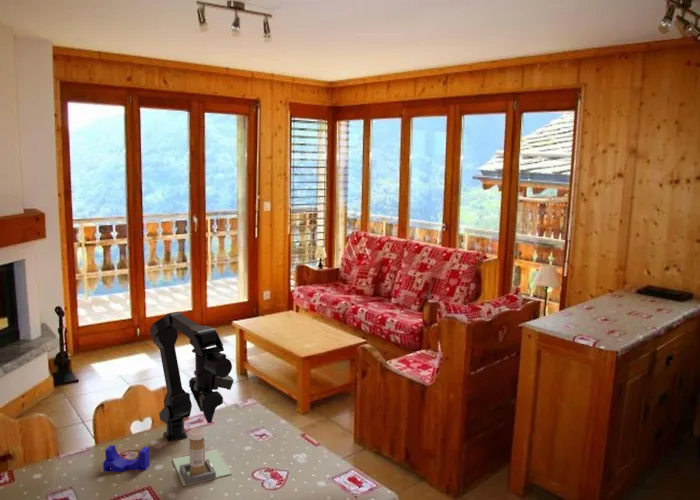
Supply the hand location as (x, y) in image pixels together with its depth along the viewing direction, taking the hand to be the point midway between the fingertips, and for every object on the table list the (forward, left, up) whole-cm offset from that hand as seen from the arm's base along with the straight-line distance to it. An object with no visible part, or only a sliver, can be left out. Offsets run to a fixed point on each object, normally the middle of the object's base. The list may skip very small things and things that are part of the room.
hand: (205, 416), depth 174 cm
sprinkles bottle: (+10, -5, -13) cm, 17 cm away
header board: (+6, -3, -13) cm, 15 cm away
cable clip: (-3, -23, -13) cm, 27 cm away
